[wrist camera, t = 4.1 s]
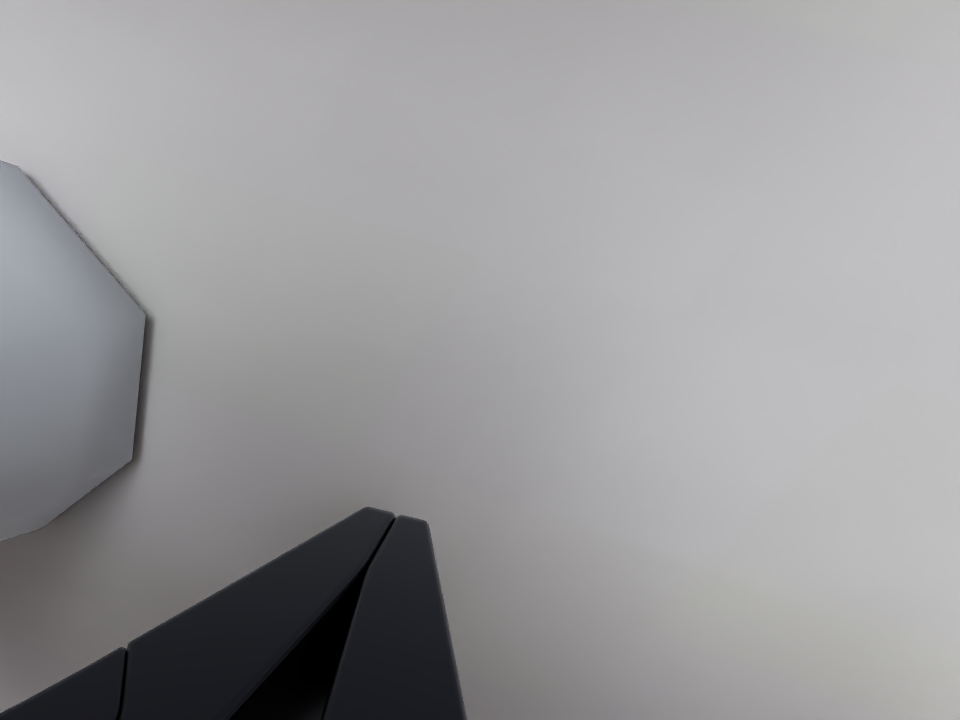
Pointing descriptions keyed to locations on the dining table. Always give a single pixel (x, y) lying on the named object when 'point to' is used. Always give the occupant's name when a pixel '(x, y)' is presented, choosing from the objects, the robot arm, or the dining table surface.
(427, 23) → the dining table surface
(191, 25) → the dining table surface
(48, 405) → the flask
